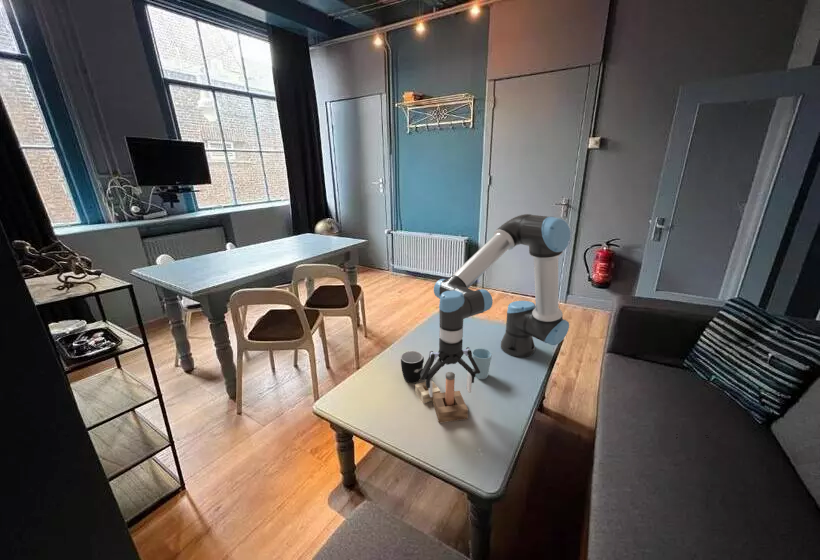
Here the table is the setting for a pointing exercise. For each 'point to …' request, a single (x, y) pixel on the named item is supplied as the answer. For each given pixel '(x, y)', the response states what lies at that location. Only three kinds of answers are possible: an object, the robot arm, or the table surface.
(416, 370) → the mug
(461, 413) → the brown wooden square frame
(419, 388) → the bead beech
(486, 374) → the cup
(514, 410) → the table surface
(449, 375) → the dowel
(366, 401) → the table surface
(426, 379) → the robot arm
